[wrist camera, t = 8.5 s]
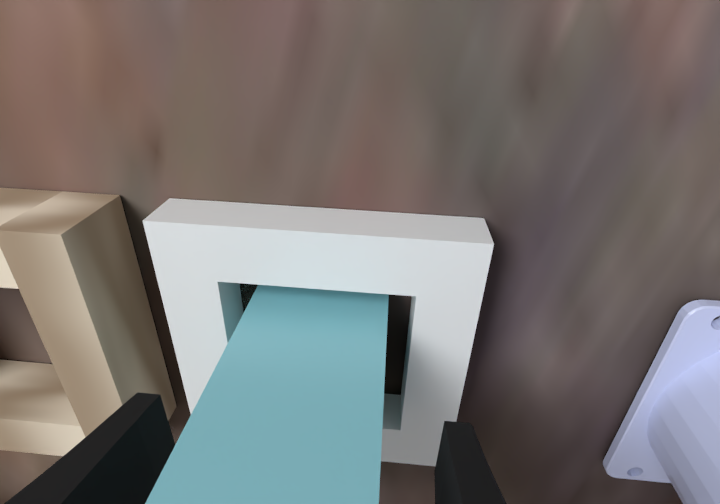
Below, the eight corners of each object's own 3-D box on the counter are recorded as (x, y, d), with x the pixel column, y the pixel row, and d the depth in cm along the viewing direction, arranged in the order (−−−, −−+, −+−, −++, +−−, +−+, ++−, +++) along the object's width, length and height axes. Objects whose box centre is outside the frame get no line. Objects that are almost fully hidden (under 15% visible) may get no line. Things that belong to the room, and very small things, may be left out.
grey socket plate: (484, 218, 12) (493, 244, 11) (442, 431, 16) (446, 467, 15) (169, 198, 12) (142, 220, 11) (213, 409, 17) (197, 443, 16)
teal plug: (389, 285, 13) (374, 586, 6) (381, 377, 15) (365, 683, 8) (262, 275, 14) (118, 556, 7) (271, 367, 16) (167, 656, 9)
